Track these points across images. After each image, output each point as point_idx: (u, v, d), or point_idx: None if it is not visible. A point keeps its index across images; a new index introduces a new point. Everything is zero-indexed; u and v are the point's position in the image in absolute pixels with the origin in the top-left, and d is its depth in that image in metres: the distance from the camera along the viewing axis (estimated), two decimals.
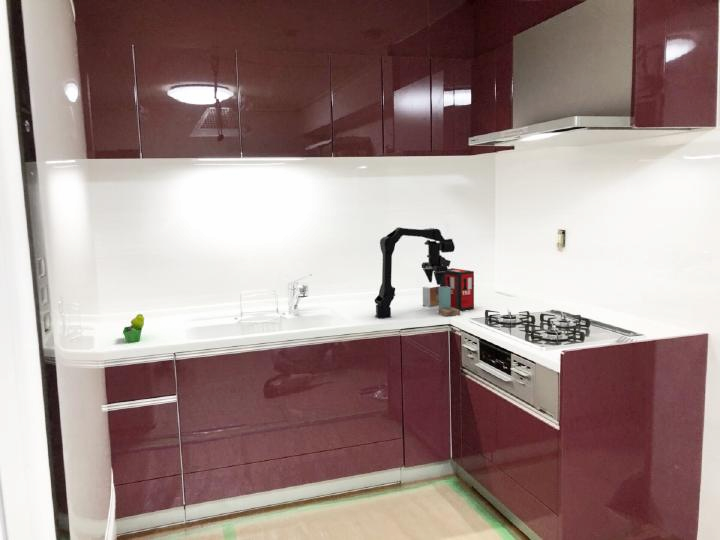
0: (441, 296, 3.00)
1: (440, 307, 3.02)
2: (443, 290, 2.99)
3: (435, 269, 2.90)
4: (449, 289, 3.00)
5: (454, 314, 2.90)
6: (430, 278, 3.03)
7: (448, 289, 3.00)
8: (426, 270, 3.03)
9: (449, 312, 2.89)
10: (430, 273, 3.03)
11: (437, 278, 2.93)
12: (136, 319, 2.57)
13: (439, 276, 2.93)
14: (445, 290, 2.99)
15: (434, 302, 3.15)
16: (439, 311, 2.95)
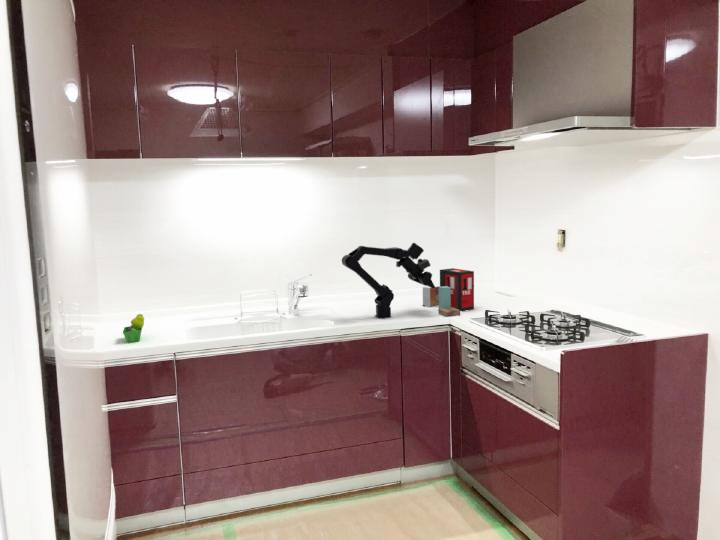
0: (441, 296, 3.00)
1: (440, 307, 3.02)
2: (443, 290, 2.99)
3: (422, 282, 2.88)
4: (449, 289, 3.00)
5: (454, 314, 2.90)
6: None
7: (448, 289, 3.00)
8: (415, 280, 3.01)
9: (449, 312, 2.89)
10: None
11: (429, 285, 2.92)
12: (136, 319, 2.57)
13: (429, 282, 2.92)
14: (445, 290, 2.99)
15: (434, 302, 3.15)
16: (439, 311, 2.95)
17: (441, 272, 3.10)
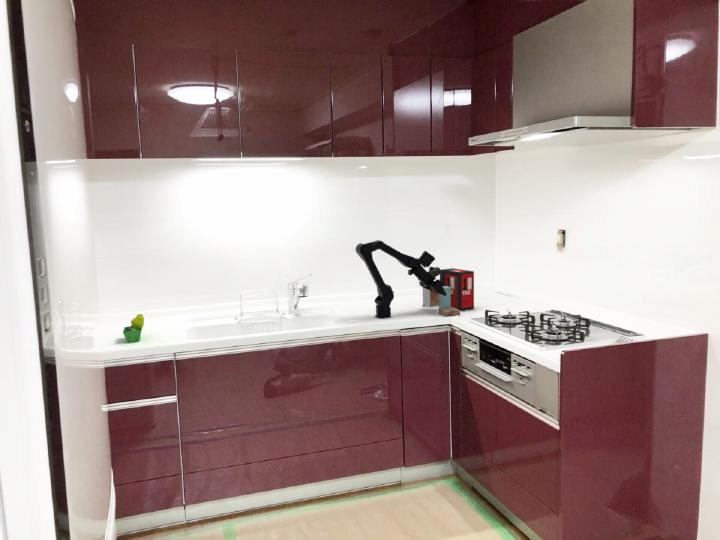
0: (441, 296, 3.00)
1: (440, 307, 3.02)
2: None
3: (434, 290, 2.91)
4: (449, 289, 3.00)
5: (454, 314, 2.90)
6: None
7: (448, 289, 3.00)
8: (427, 287, 3.04)
9: (449, 312, 2.89)
10: None
11: (441, 292, 2.95)
12: (136, 319, 2.57)
13: (441, 290, 2.95)
14: (445, 290, 2.99)
15: (434, 302, 3.15)
16: (439, 311, 2.95)
17: None
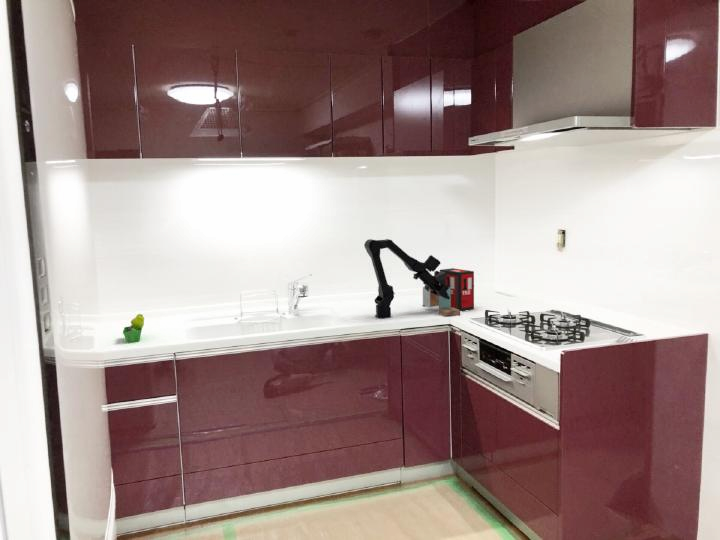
0: None
1: (440, 307, 3.02)
2: None
3: (439, 294, 2.92)
4: (449, 289, 3.00)
5: (454, 314, 2.90)
6: None
7: (448, 289, 3.00)
8: (434, 292, 3.03)
9: (449, 312, 2.89)
10: None
11: (444, 296, 2.98)
12: (136, 319, 2.57)
13: (444, 293, 2.98)
14: None
15: (434, 302, 3.15)
16: (439, 311, 2.95)
17: None
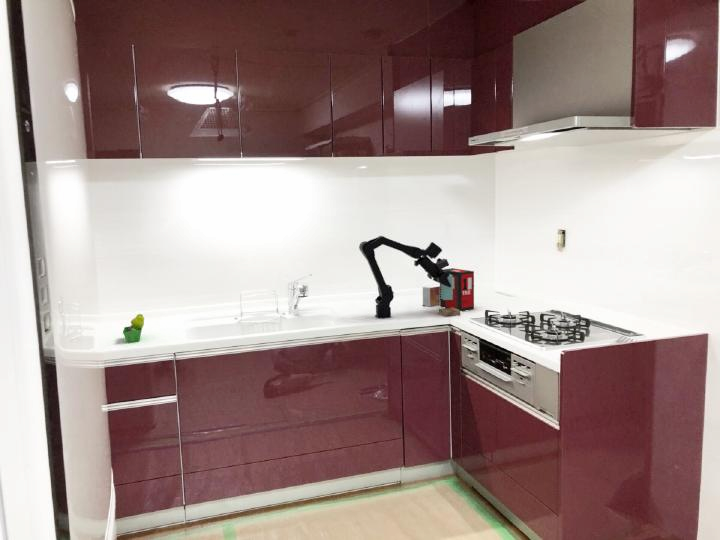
0: None
1: (442, 295, 2.98)
2: None
3: (439, 281, 2.88)
4: (451, 277, 2.95)
5: (454, 314, 2.90)
6: None
7: (450, 277, 2.95)
8: (436, 280, 2.99)
9: (449, 312, 2.89)
10: None
11: (445, 284, 2.94)
12: (136, 319, 2.57)
13: (445, 281, 2.94)
14: (447, 278, 2.95)
15: (434, 302, 3.15)
16: (439, 311, 2.95)
17: None
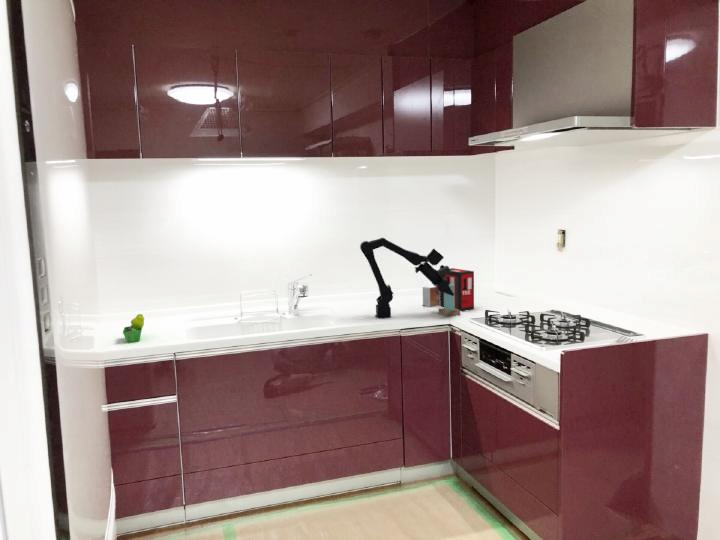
0: (445, 294, 2.91)
1: (444, 305, 2.94)
2: None
3: (438, 289, 2.84)
4: (453, 287, 2.90)
5: (454, 314, 2.90)
6: None
7: (452, 287, 2.90)
8: None
9: (449, 312, 2.89)
10: None
11: (447, 292, 2.86)
12: (136, 319, 2.57)
13: (447, 289, 2.86)
14: None
15: (434, 302, 3.15)
16: (439, 311, 2.95)
17: None
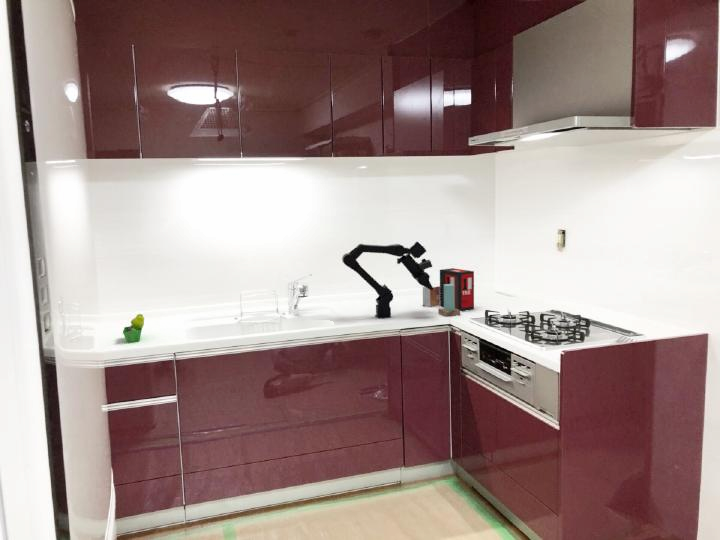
0: (445, 294, 2.91)
1: (444, 305, 2.94)
2: (446, 288, 2.90)
3: (418, 282, 2.85)
4: (453, 287, 2.90)
5: (454, 314, 2.90)
6: None
7: (452, 287, 2.90)
8: None
9: (449, 312, 2.89)
10: None
11: (427, 286, 2.87)
12: (136, 319, 2.57)
13: (427, 283, 2.87)
14: (448, 288, 2.90)
15: (434, 302, 3.15)
16: (439, 311, 2.95)
17: (441, 272, 3.10)
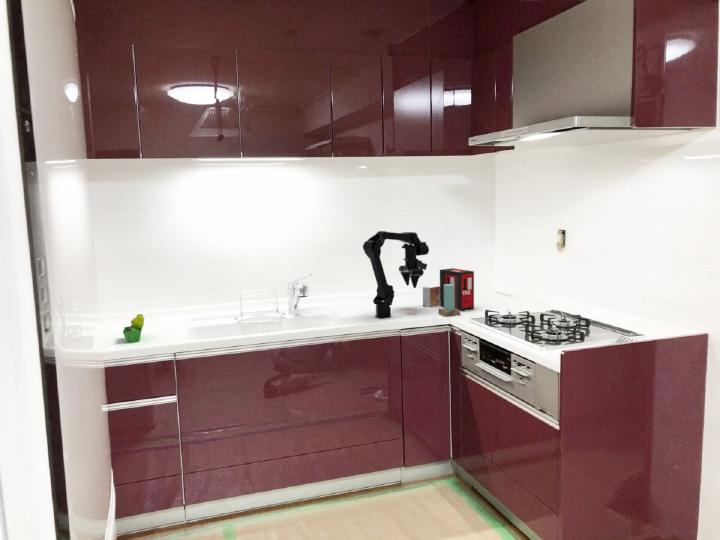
0: (445, 294, 2.91)
1: (444, 305, 2.94)
2: (446, 288, 2.90)
3: (411, 272, 2.93)
4: (453, 287, 2.90)
5: (454, 314, 2.90)
6: (407, 281, 3.06)
7: (452, 287, 2.90)
8: (403, 273, 3.05)
9: (449, 312, 2.89)
10: (407, 276, 3.06)
11: (413, 281, 2.96)
12: (136, 319, 2.57)
13: (415, 279, 2.96)
14: (448, 288, 2.90)
15: (434, 302, 3.15)
16: (439, 311, 2.95)
17: (441, 272, 3.10)
